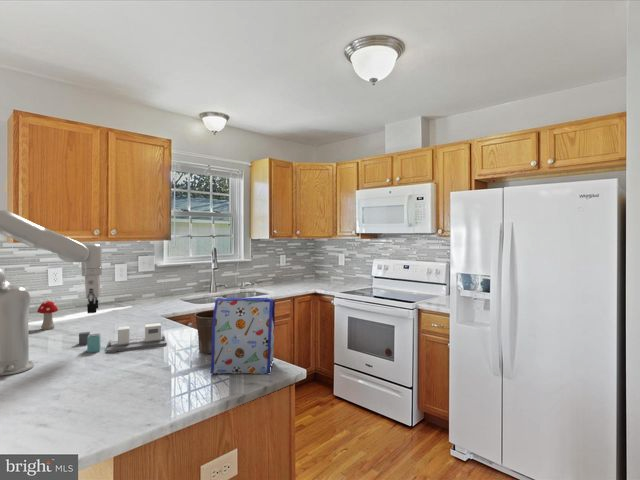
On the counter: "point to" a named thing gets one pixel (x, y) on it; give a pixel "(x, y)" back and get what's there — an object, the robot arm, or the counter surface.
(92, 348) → the teal module
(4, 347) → the robot arm
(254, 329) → the lunch bag
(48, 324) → the decorative mushroom
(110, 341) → the metal rail
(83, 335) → the grey rectangular block
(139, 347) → the board
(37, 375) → the counter surface
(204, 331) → the plant pot
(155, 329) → the block
